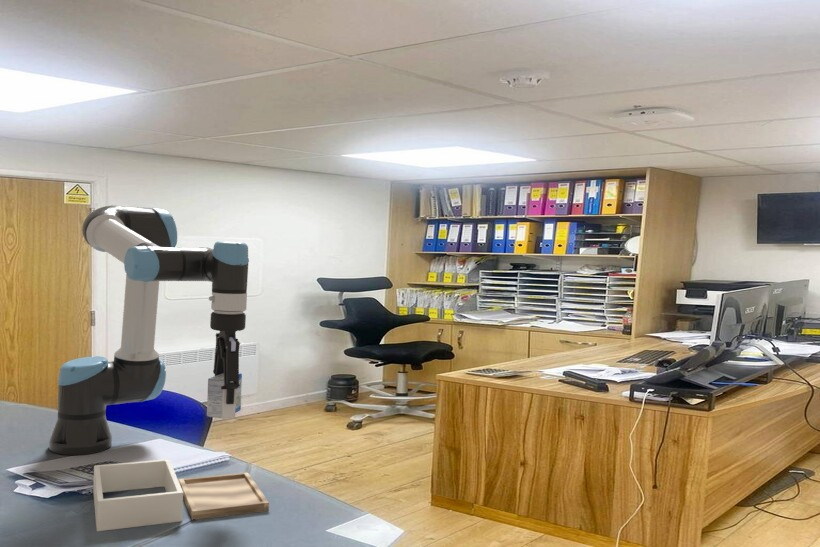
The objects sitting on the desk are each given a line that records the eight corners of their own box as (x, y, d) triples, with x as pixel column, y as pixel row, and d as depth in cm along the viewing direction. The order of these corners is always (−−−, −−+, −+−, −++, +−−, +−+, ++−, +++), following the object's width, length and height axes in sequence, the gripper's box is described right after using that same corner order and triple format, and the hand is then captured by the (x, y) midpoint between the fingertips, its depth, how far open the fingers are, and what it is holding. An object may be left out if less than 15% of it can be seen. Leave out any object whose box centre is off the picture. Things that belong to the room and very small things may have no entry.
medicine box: (224, 419, 152) (226, 379, 152) (206, 416, 153) (207, 377, 153) (241, 410, 160) (242, 373, 160) (222, 408, 161) (224, 371, 161)
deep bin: (93, 491, 157) (94, 465, 157) (168, 484, 164) (169, 459, 164) (96, 531, 138) (97, 501, 137) (182, 521, 145) (183, 492, 144)
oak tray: (178, 486, 163) (178, 478, 163) (247, 479, 170) (247, 472, 170) (192, 519, 145) (192, 511, 145) (268, 510, 152) (268, 502, 152)
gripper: (203, 306, 164) (199, 402, 165) (220, 317, 144) (215, 426, 145) (235, 306, 167) (231, 400, 168) (256, 317, 147) (251, 424, 149)
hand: (224, 412), depth 157 cm, fingers closed on medicine box, 9 cm apart
